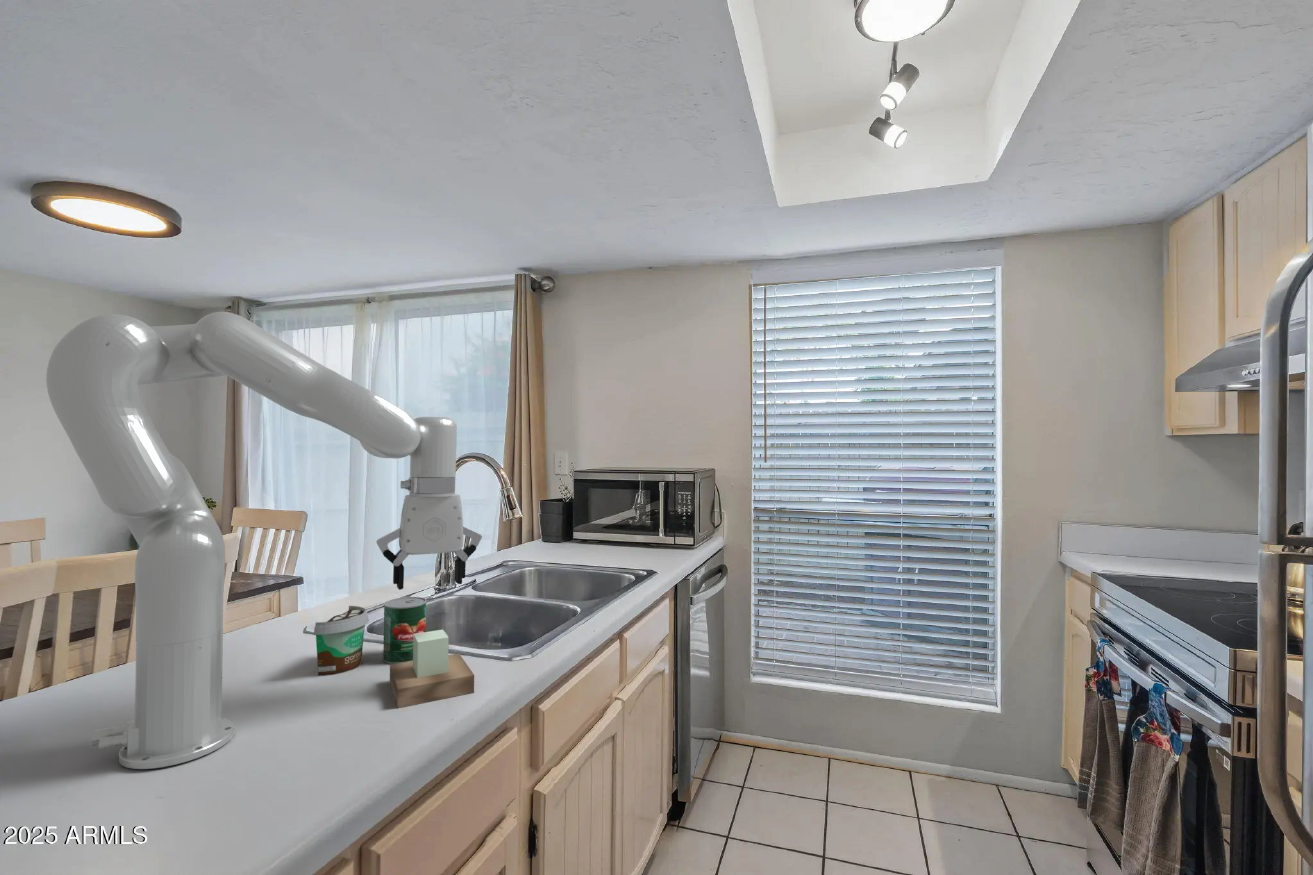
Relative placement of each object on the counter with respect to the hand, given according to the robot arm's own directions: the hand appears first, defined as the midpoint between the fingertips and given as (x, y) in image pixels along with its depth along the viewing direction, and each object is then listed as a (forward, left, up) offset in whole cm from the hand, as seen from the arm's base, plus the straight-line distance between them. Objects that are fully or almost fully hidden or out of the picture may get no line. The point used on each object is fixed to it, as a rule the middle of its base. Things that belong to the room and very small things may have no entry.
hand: (429, 585), depth 103 cm
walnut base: (0, 0, -18) cm, 18 cm away
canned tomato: (-2, +18, -18) cm, 26 cm away
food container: (-12, +18, -18) cm, 28 cm away
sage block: (0, 0, -15) cm, 15 cm away
